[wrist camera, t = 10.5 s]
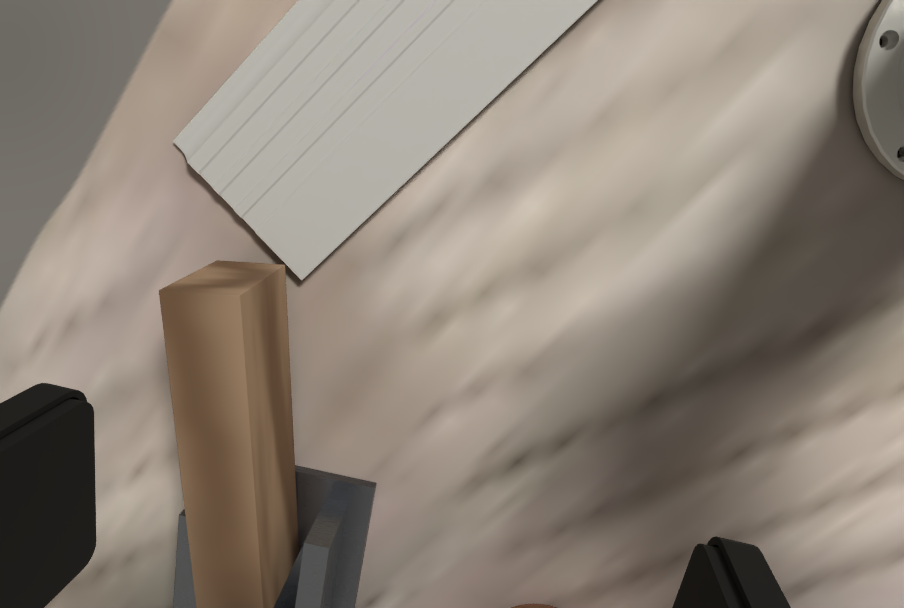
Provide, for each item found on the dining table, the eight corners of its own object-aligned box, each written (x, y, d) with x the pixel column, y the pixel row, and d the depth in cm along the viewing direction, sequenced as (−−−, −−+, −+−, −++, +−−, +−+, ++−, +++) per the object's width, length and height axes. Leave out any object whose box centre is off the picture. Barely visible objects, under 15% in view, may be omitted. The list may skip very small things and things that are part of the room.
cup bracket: (376, 483, 39) (358, 532, 34) (347, 649, 43) (327, 714, 38) (198, 444, 39) (155, 487, 34) (185, 612, 43) (145, 672, 38)
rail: (284, 264, 34) (240, 295, 28) (299, 553, 40) (264, 626, 34) (217, 260, 34) (158, 290, 28) (241, 547, 40) (197, 618, 35)
